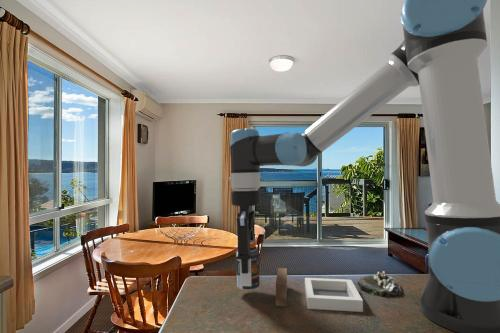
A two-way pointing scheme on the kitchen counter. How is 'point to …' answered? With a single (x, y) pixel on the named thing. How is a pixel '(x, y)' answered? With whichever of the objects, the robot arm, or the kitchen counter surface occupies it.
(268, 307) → the kitchen counter surface
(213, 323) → the kitchen counter surface
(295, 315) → the kitchen counter surface
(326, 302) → the plate
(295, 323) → the kitchen counter surface
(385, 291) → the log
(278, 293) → the door edge
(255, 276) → the pill bottle
